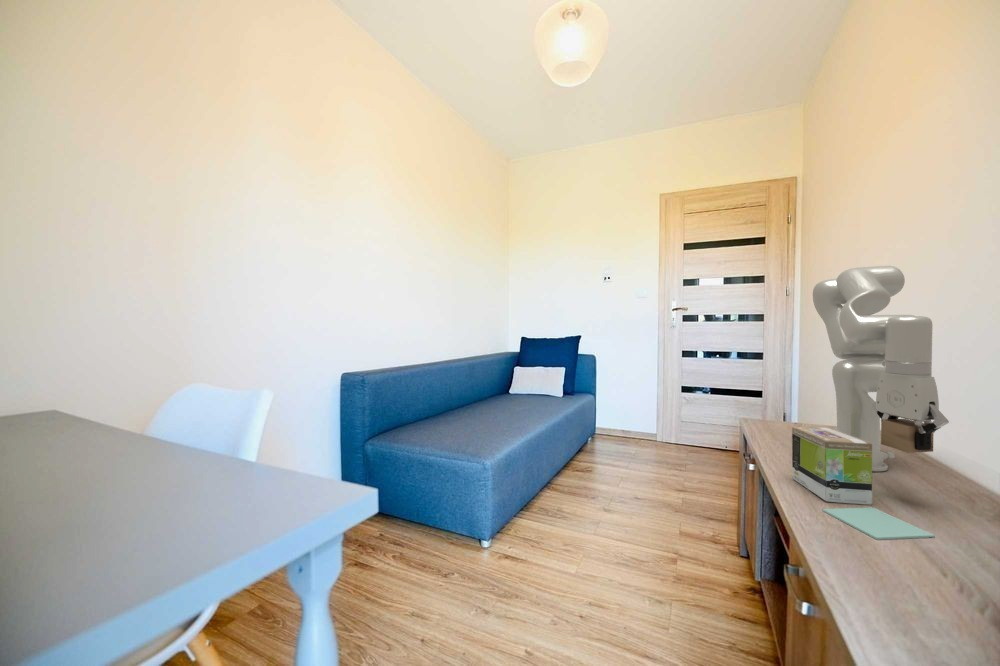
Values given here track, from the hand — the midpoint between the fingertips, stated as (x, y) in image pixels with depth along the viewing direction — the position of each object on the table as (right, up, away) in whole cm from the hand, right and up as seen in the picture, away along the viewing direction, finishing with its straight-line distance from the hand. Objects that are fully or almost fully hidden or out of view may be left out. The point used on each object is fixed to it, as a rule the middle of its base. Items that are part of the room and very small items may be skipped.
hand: (906, 443), depth 91 cm
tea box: (-12, -14, +7) cm, 20 cm away
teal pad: (-17, -14, -10) cm, 24 cm away
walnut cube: (0, -1, 0) cm, 1 cm away
